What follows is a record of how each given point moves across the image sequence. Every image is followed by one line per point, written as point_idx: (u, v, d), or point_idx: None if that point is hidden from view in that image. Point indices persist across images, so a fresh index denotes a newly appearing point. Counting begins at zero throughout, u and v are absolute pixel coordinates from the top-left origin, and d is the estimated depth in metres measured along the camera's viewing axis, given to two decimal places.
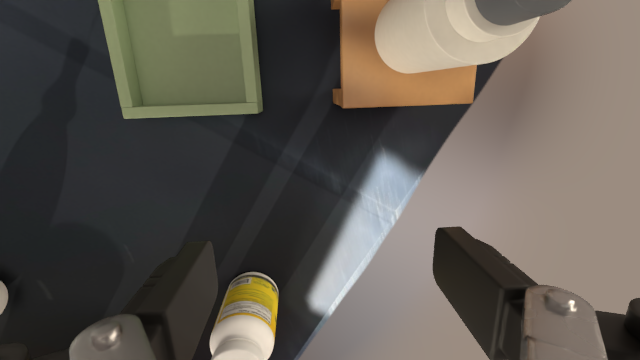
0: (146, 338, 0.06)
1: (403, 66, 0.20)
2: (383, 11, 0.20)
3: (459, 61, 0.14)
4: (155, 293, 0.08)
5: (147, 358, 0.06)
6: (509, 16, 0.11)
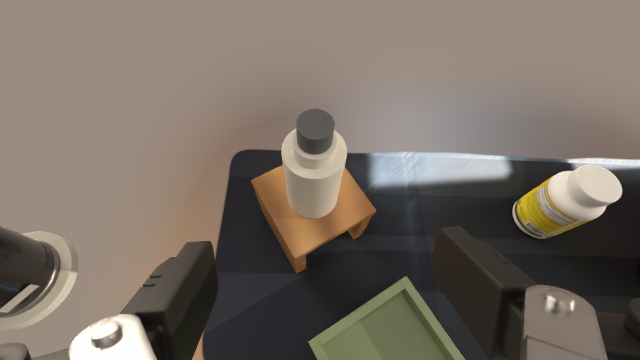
0: (146, 338, 0.06)
1: None
2: (315, 214, 0.31)
3: (345, 145, 0.26)
4: (155, 293, 0.08)
5: (147, 358, 0.06)
6: None
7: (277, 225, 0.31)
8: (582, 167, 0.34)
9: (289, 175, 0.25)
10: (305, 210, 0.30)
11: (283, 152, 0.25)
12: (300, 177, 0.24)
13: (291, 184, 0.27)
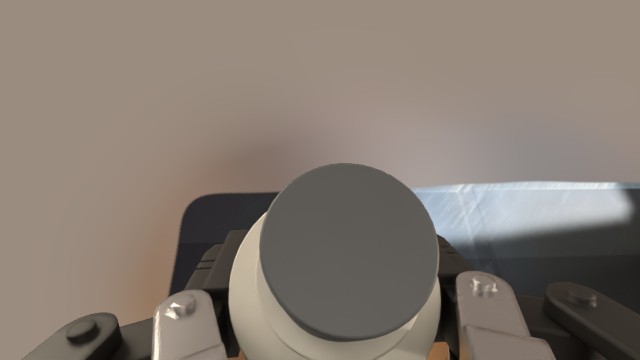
0: (214, 315, 0.07)
1: None
2: None
3: None
4: (214, 273, 0.08)
5: (213, 334, 0.06)
6: None
7: None
8: None
9: None
10: None
11: (235, 295, 0.08)
12: None
13: None
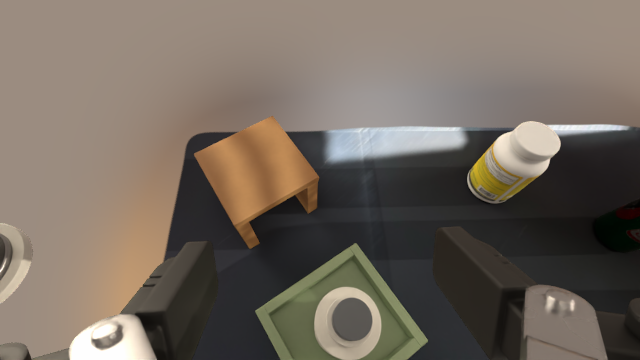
0: (146, 338, 0.06)
1: None
2: None
3: (378, 312, 0.25)
4: (155, 293, 0.08)
5: (147, 358, 0.06)
6: None
7: (218, 195, 0.31)
8: (522, 124, 0.34)
9: None
10: None
11: (317, 326, 0.24)
12: (336, 357, 0.24)
13: (324, 349, 0.26)
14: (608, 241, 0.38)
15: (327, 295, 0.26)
